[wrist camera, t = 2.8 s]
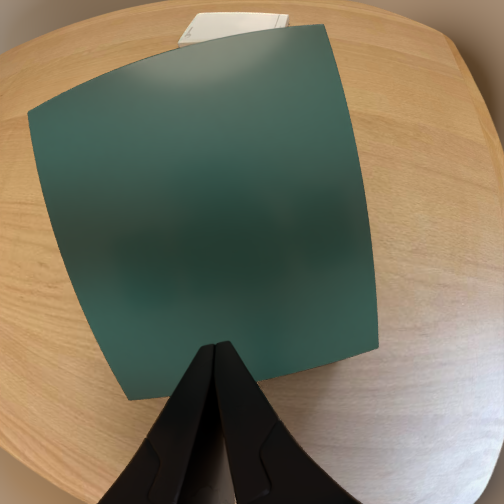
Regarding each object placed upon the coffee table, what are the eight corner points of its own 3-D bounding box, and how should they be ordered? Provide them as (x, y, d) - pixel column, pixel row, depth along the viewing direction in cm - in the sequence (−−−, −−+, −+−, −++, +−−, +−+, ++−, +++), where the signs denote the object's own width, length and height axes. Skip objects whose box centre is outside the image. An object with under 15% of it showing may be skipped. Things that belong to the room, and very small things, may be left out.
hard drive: (176, 42, 31) (279, 43, 29) (198, 11, 33) (289, 12, 31) (179, 52, 32) (280, 54, 30) (200, 20, 35) (289, 22, 33)
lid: (36, 113, 10) (26, 111, 10) (319, 30, 10) (324, 23, 9) (132, 391, 14) (128, 401, 14) (373, 340, 14) (379, 348, 14)
